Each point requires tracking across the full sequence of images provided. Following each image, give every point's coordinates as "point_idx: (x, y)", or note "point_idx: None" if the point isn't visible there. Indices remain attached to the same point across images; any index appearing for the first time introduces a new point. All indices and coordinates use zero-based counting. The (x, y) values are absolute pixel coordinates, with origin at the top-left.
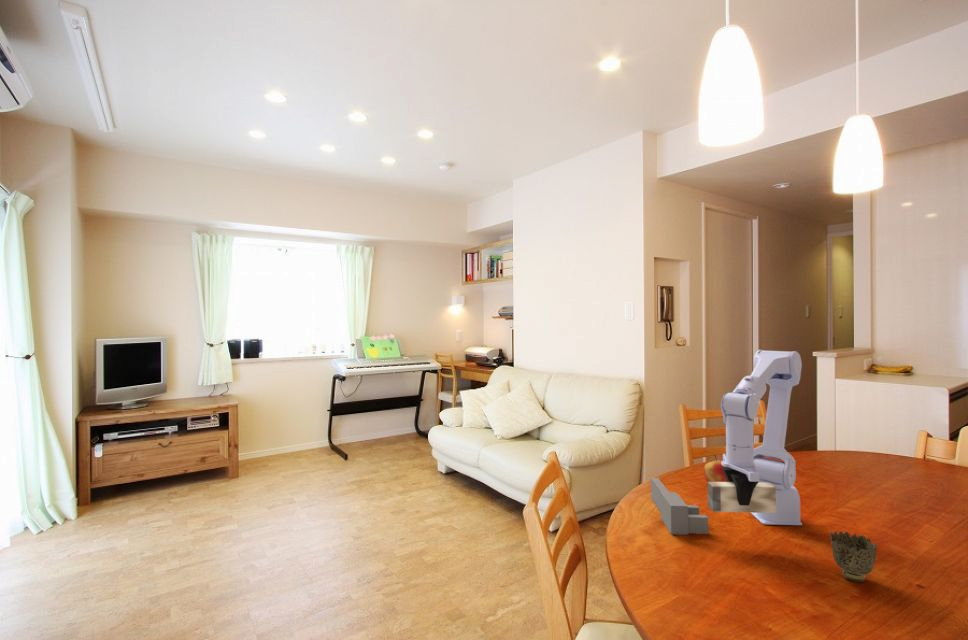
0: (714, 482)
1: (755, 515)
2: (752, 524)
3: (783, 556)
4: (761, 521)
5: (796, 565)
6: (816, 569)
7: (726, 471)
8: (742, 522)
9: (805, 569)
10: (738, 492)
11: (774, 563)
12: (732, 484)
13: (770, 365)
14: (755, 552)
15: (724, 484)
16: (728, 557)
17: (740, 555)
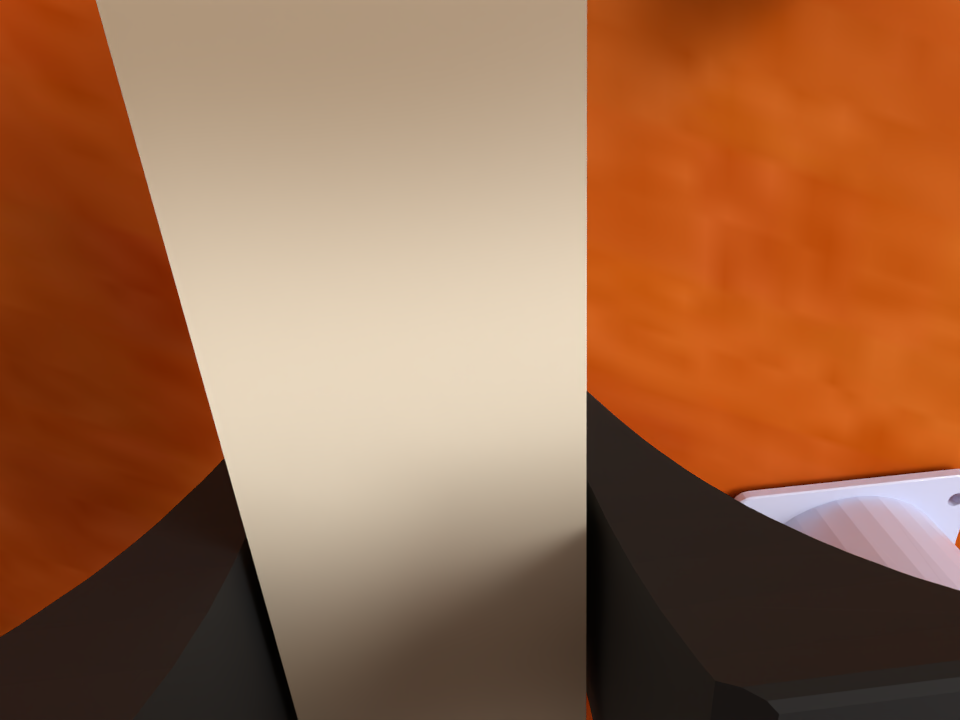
0: (516, 106)
1: (871, 488)
2: (748, 423)
3: (219, 457)
4: (764, 495)
5: (97, 489)
6: (84, 574)
7: (712, 715)
8: (790, 364)
9: (55, 520)
10: (159, 522)
11: (71, 365)
12: (402, 539)
13: None
14: None
15: (367, 359)
16: (36, 7)
17: (125, 143)
